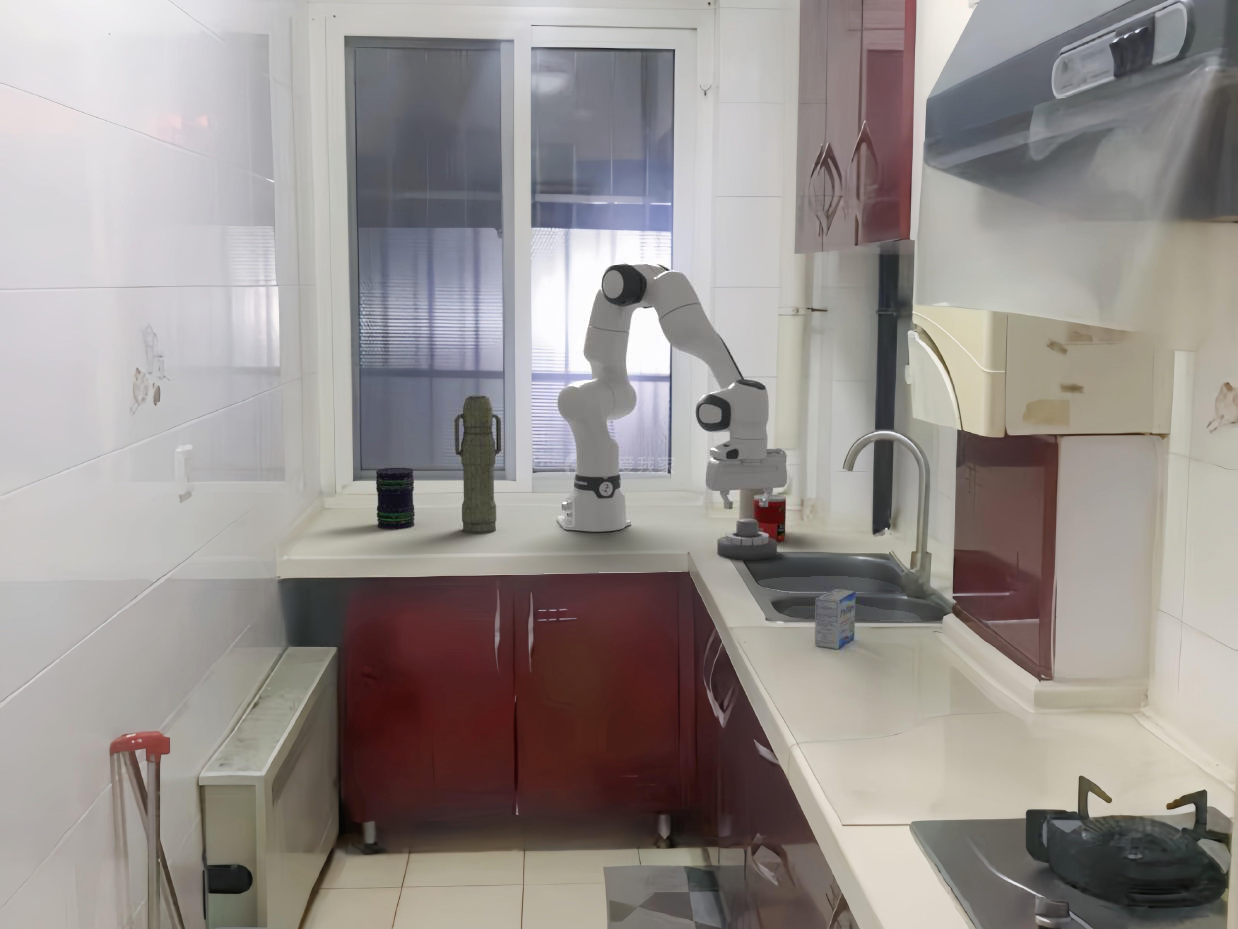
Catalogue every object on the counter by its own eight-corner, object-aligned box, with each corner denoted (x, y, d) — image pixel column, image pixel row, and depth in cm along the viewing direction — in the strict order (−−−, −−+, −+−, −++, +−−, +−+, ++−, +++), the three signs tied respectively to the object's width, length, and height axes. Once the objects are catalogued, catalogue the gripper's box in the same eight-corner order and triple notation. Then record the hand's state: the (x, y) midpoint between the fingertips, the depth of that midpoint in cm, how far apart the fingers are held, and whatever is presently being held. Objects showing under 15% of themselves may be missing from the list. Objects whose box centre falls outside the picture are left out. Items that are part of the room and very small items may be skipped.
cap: (732, 539, 268) (732, 519, 267) (751, 538, 270) (751, 517, 269) (742, 544, 263) (743, 522, 262) (762, 542, 265) (762, 521, 264)
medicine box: (838, 650, 191) (839, 600, 190) (813, 646, 194) (815, 597, 193) (854, 639, 198) (856, 591, 197) (830, 635, 200) (832, 587, 199)
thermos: (506, 531, 292) (505, 396, 288) (462, 535, 288) (460, 398, 283) (496, 525, 300) (494, 394, 296) (453, 528, 296) (450, 395, 291)
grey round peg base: (707, 549, 271) (707, 531, 270) (758, 545, 276) (758, 527, 275) (734, 562, 258) (735, 542, 257) (787, 556, 263) (788, 538, 263)
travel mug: (732, 530, 294) (733, 462, 292) (754, 527, 299) (755, 459, 297) (754, 535, 288) (755, 465, 286) (776, 531, 293) (777, 463, 290)
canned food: (784, 543, 278) (785, 499, 277) (751, 542, 280) (752, 498, 278) (785, 537, 286) (787, 494, 284) (754, 536, 287) (755, 493, 286)
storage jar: (422, 525, 301) (421, 469, 299) (396, 531, 293) (395, 474, 291) (395, 521, 306) (393, 466, 304) (369, 526, 298) (367, 471, 296)
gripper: (779, 446, 270) (777, 502, 273) (703, 449, 263) (701, 507, 265) (793, 449, 265) (791, 507, 267) (716, 453, 257) (714, 512, 259)
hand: (745, 507), depth 266 cm, fingers open, 8 cm apart
